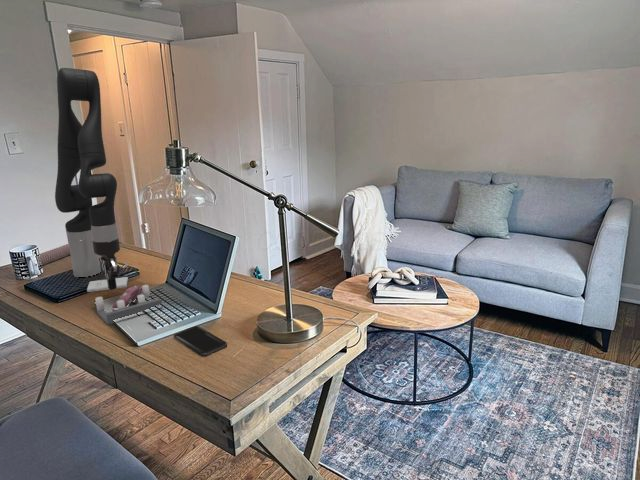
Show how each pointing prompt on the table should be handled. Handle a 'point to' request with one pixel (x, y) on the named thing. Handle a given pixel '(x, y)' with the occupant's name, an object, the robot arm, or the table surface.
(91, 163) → the robot arm
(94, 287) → the external hard drive
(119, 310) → the dock
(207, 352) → the phone
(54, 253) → the pink brown cylinder
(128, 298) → the purple rounded block
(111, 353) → the table surface
